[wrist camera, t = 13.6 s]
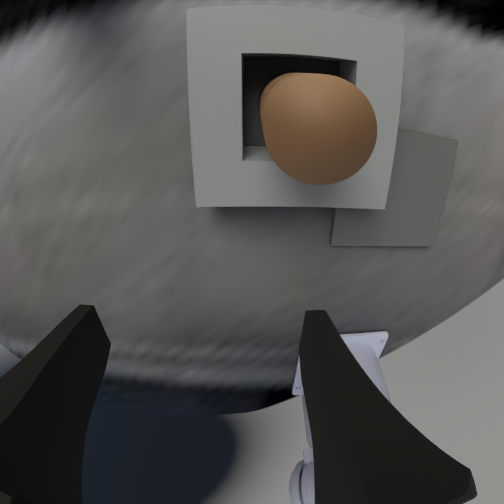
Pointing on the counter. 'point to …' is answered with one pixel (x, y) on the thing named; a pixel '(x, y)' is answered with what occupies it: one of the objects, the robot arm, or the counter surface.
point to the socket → (232, 100)
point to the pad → (403, 197)
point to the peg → (317, 126)
